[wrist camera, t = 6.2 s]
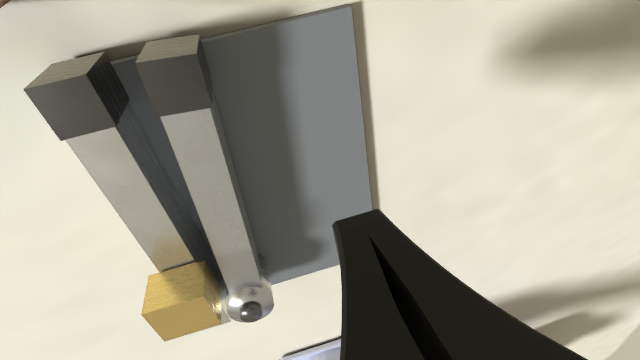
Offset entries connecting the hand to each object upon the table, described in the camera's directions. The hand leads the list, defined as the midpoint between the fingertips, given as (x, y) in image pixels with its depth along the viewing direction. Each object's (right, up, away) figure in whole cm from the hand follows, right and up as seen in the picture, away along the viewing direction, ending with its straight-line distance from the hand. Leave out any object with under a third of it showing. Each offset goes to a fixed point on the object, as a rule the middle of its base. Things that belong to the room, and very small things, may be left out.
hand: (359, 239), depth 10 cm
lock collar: (-8, -4, +8) cm, 12 cm away
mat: (-5, +1, +10) cm, 11 cm away
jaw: (-6, +1, +8) cm, 11 cm away
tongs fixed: (-9, 0, +8) cm, 12 cm away
